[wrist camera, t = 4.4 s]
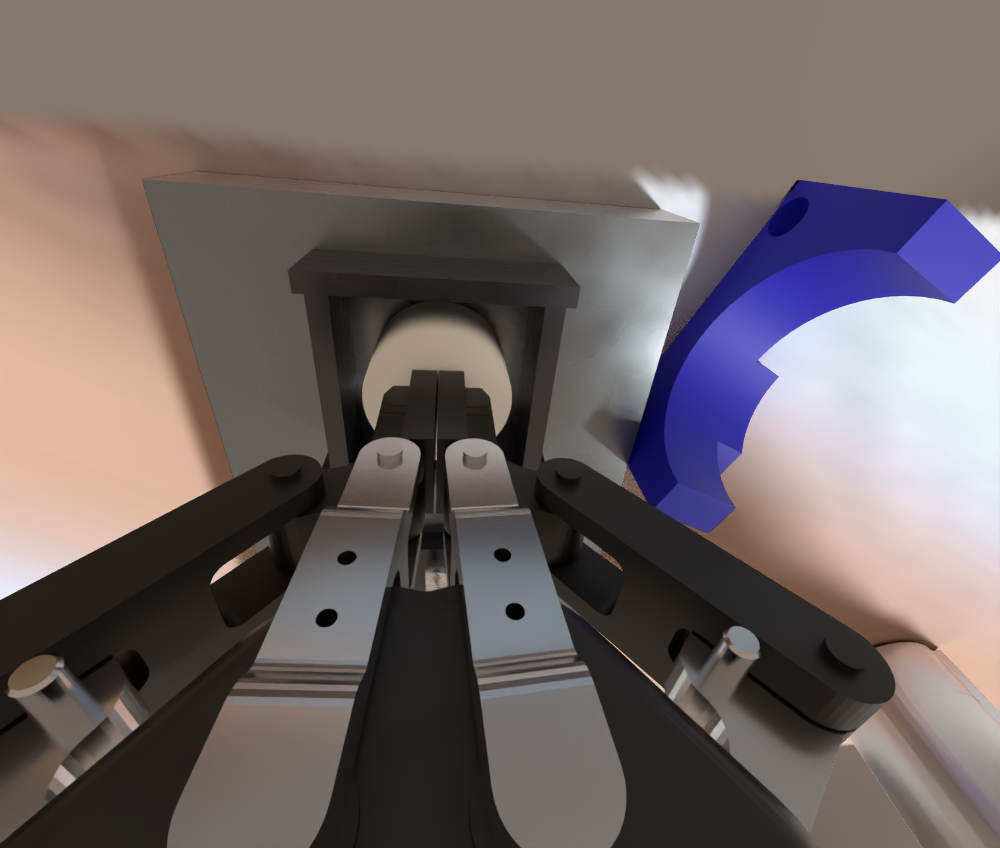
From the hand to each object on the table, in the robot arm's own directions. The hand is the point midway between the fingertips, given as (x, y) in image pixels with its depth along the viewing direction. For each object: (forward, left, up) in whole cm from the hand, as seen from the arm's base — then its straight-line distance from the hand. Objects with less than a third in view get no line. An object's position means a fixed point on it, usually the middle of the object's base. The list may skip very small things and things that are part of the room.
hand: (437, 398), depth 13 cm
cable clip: (-13, 0, -6) cm, 14 cm away
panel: (0, +10, -6) cm, 12 cm away
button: (0, 0, -3) cm, 3 cm away
